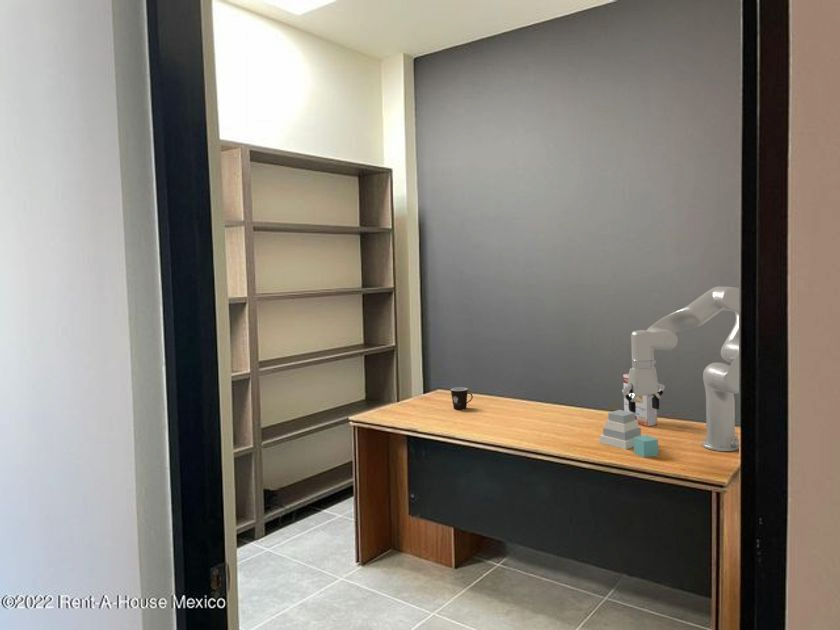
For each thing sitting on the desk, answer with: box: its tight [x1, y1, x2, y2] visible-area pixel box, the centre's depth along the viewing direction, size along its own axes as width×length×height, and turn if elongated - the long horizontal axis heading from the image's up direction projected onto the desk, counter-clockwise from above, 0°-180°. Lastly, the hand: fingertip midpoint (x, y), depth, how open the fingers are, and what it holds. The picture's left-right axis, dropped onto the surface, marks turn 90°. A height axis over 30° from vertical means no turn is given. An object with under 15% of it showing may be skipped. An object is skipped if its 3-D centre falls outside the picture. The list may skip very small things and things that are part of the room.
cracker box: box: [622, 373, 658, 428], centre depth 262 cm, size 14×6×21 cm, turn 24°
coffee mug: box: [450, 386, 474, 411], centre depth 304 cm, size 12×9×10 cm
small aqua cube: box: [633, 434, 659, 458], centre depth 222 cm, size 6×6×6 cm
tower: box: [599, 409, 645, 450], centre depth 236 cm, size 12×12×12 cm
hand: (644, 410), depth 221 cm, fingers open, 9 cm apart
